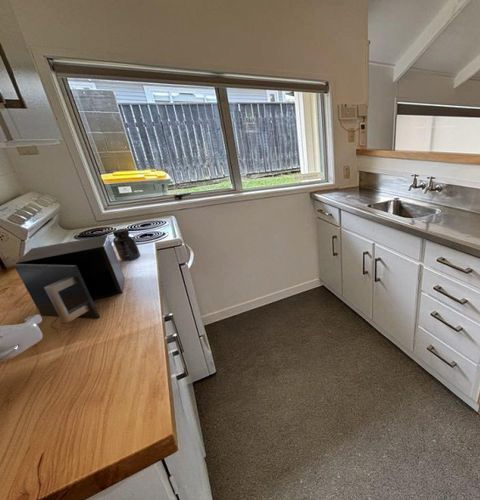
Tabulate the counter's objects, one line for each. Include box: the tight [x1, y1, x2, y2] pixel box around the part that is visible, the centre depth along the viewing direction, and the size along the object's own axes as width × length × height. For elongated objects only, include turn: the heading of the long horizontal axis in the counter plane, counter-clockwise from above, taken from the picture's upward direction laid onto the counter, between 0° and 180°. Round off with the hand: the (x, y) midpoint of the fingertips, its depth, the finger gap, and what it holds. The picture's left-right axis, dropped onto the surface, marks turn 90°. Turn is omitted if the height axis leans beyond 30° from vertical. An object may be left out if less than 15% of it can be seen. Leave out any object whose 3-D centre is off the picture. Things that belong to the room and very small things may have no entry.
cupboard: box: [15, 234, 126, 302], centre depth 86 cm, size 13×18×16 cm
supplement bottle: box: [112, 228, 141, 262], centre depth 113 cm, size 7×7×12 cm
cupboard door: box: [13, 263, 101, 324], centre depth 72 cm, size 7×18×16 cm, turn 83°
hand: (14, 319), depth 61 cm, fingers open, 8 cm apart
